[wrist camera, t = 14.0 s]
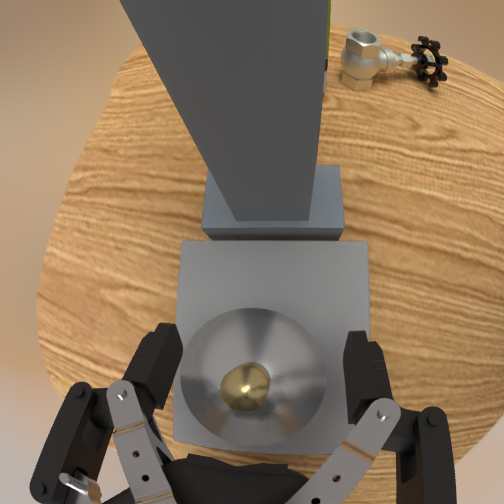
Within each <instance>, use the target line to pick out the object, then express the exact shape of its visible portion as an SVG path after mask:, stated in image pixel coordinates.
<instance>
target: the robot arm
mask: <svg viewBox="0 0 504 504" xmlns="http://www.w3.org/2000/svg"><path fill="white" fill-rule="evenodd" d="M182 355H183V344H182V341H181V338H180V335H179V332H178V329H177V326H176V325H175V324H171V323H159V324H158V326H157V328H156V330H155V332H149V333H148V334H147V335H146V336H145V337H144V338H143V339H142V340H141V342H140V344H139V346H138V349H137V350H136V352H135V355H134V356H133V358H132V360H131V362H130V364H129V366H128V368H127V370H126V372H125V374H124V376H123V378H122V380H119V381H116V382H114V383H112V384H111V385H110V386H109V388H95V389H92V387H91V386H90V385H89V384H88V383H86V382H78V383H76V384H74V385H73V386H72V387H71V388H70V389H69V391H68V393H67V395H66V398H65V400H64V402H63V404H62V406H61V408H60V410H59V412H58V415H57V417H56V419H55V421H54V424H53V426H52V428H51V430H50V433H49V435H48V437H47V440H46V442H45V444H44V447H43V450H42V452H41V455H40V457H39V460H38V463H37V465H36V468H35V471H34V473H33V476H32V479H31V482H30V492H31V495H32V497H33V498H34V499H35V500H36V501H37V502H39V503H41V504H341V503H342V501H343V500H344V499H345V498H346V497H347V496H348V494H349V493H350V492H351V491H352V489H353V488H354V487H355V486H356V484H357V483H358V482H359V481H360V479H361V478H362V477H363V475H364V474H365V473H366V471H367V470H368V469H369V467H370V466H371V464H372V463H373V461H374V459H375V457H376V455H377V454H378V452H379V451H380V449H381V450H387V451H393V452H396V481H397V491H396V504H457V499H456V483H455V469H454V460H453V452H452V445H451V438H450V432H449V426H448V421H447V416H446V414H445V412H444V411H443V410H442V409H440V408H438V407H434V406H432V407H427V408H425V409H424V410H423V411H422V412H418V411H412V410H407V409H404V408H401V407H400V406H399V405H398V404H397V403H396V402H395V401H394V399H393V397H392V393H391V388H390V383H389V378H388V373H387V369H386V364H385V361H384V356H383V351H382V349H381V348H380V346H379V345H378V344H377V342H376V341H372V342H368V339H367V334H366V331H365V330H361V331H349V332H348V336H347V340H346V344H345V348H344V352H343V370H344V379H345V390H346V402H347V415H348V424H355V427H354V429H353V430H352V431H351V433H350V434H349V435H348V437H347V438H346V439H345V440H344V441H343V442H342V443H341V444H340V445H339V447H338V448H337V449H336V450H335V451H334V453H333V454H332V455H331V456H330V457H329V458H328V460H327V461H326V462H325V463H324V464H323V465H322V466H321V468H320V469H319V470H318V471H317V472H316V473H315V474H314V475H313V476H312V477H311V478H310V479H309V478H307V477H306V476H304V475H302V474H300V473H299V472H296V471H293V470H290V469H287V467H288V464H266V463H261V464H253V465H246V466H233V465H230V464H227V463H224V462H222V461H219V460H217V459H214V458H212V457H206V456H200V455H195V454H190V453H188V456H187V458H183V459H177V460H174V458H173V456H172V454H171V452H170V451H169V449H168V448H167V446H166V444H165V442H164V440H163V437H162V435H161V433H160V430H159V428H158V425H157V423H156V421H155V418H154V416H153V412H154V409H160V410H163V408H164V405H165V402H166V399H167V396H168V394H169V391H170V388H171V385H172V383H173V380H174V377H175V375H176V372H177V369H178V366H179V364H180V361H181V358H182ZM114 427H115V432H113V430H114ZM112 433H113V440H114V443H115V446H116V449H117V453H118V456H119V459H120V462H121V465H122V467H123V470H124V473H125V476H126V479H127V481H128V484H129V486H130V487H129V488H128V489H126V490H124V491H122V492H121V493H119V494H117V495H116V496H114V497H112V498H111V499H109V500H107V501H105V502H104V503H101V501H100V498H101V496H102V494H101V492H100V487H99V485H98V484H97V478H98V475H99V472H100V469H101V466H102V462H103V459H104V456H105V453H106V450H107V447H108V444H109V441H110V438H111V435H112Z"/></svg>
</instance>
